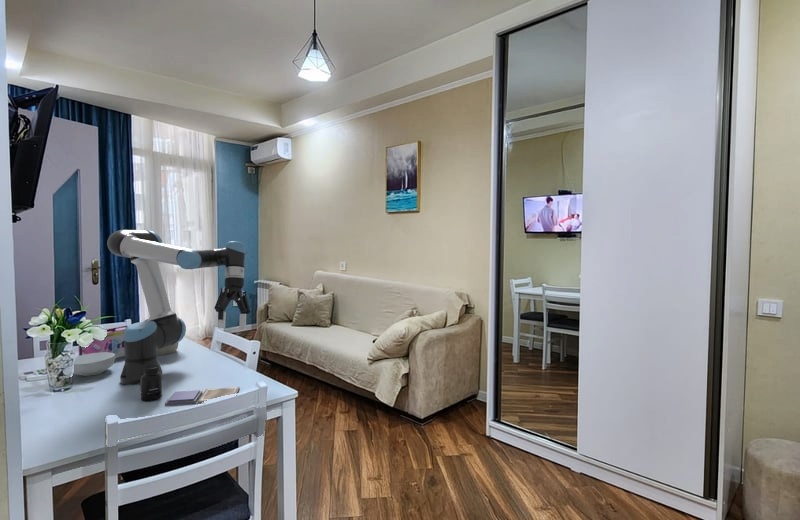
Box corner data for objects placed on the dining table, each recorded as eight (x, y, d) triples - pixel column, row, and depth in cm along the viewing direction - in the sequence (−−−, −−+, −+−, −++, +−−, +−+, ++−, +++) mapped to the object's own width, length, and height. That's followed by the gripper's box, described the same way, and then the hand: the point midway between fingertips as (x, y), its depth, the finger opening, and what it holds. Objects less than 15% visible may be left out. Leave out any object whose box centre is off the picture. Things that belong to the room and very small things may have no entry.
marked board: (197, 403, 149) (197, 401, 149) (206, 391, 161) (205, 388, 161) (233, 401, 152) (233, 398, 152) (239, 388, 164) (239, 386, 164)
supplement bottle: (152, 403, 150) (151, 370, 149) (136, 401, 151) (135, 369, 150) (166, 396, 156) (165, 364, 156) (151, 394, 158) (150, 363, 157)
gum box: (85, 366, 191) (84, 337, 190) (75, 364, 194) (74, 335, 193) (136, 352, 213) (135, 326, 212) (126, 351, 216) (125, 325, 215)
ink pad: (164, 405, 147) (164, 401, 147) (174, 395, 157) (173, 391, 157) (195, 403, 149) (195, 399, 149) (202, 393, 159) (202, 389, 159)
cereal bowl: (86, 367, 189) (85, 352, 189) (123, 366, 190) (123, 351, 190) (57, 380, 172) (56, 363, 172) (99, 379, 173) (98, 363, 173)
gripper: (223, 272, 161) (220, 327, 157) (259, 281, 185) (257, 329, 181) (206, 274, 163) (203, 328, 159) (244, 282, 187) (242, 330, 183)
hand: (232, 328), depth 170 cm, fingers open, 13 cm apart
